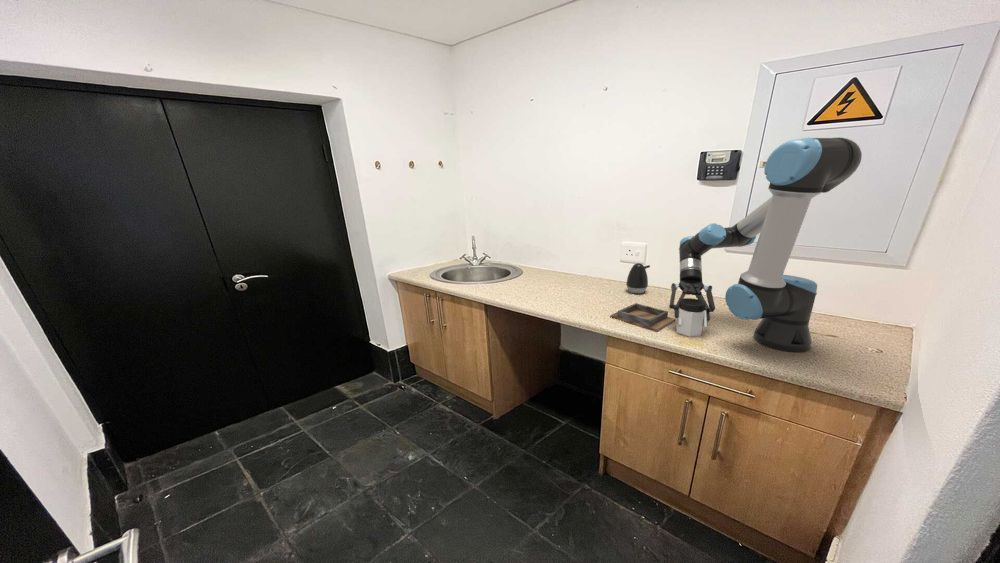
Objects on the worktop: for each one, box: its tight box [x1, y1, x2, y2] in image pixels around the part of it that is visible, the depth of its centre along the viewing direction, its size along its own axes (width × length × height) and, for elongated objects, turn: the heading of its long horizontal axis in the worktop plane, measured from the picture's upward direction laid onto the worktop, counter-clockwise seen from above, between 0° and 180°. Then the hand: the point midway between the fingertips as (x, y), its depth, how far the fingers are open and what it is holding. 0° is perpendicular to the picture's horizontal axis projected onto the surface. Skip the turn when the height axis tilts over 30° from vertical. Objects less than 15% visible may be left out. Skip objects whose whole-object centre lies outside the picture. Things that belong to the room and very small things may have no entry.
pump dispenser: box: [625, 262, 651, 294], centre depth 168 cm, size 10×10×15 cm
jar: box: [675, 297, 705, 338], centre depth 122 cm, size 9×8×12 cm
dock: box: [610, 302, 676, 333], centre depth 137 cm, size 20×15×4 cm
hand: (692, 327), depth 120 cm, fingers closed on jar, 7 cm apart
